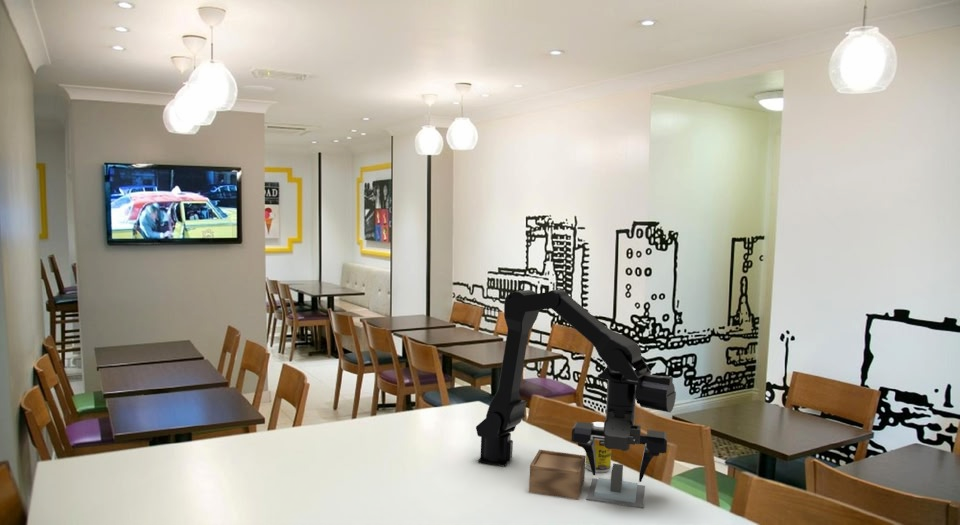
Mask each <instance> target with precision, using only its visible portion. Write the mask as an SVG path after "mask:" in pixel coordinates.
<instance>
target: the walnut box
mask: <svg viewBox="0 0 960 525" xmlns="http://www.w3.org/2000/svg"><path fill="white" fill-rule="evenodd" d="M585 464H586V454H576V453H569V452H560V451H554V450H545V449H538V450H537V453H536V454H535V456H534V458H533V459H532V462H531V463H530V465H529V479H528V480H529V483H528V493H530V492H531V494H536V495H537V494H538V495H545V496H552V497H557V498H564V499H565V498H566V499H573V500H579V499H580V496H581V493H582V490H583V487H584V483H585V475H586V465H585Z"/></svg>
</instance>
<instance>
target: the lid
mask: <svg viewBox="0 0 960 525" xmlns="http://www.w3.org/2000/svg"><path fill="white" fill-rule="evenodd" d="M623 473H624V464H622V463H621V464H620V463H612V467H611V472H610V478H604V477H597V479H598V481H597V485H596V489H595V493H594V497H599V498H605V499H612V500H619V501H626V502H632V503H635V501H636V493H637V485H638V482H632V481H625V480H623V479H624V478H623V477H624V476H623Z"/></svg>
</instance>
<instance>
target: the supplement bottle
mask: <svg viewBox="0 0 960 525" xmlns="http://www.w3.org/2000/svg"><path fill="white" fill-rule="evenodd" d="M592 423H594V429H602V430H604V423H605V421H604V422H603V421H594V422H592ZM595 453H596V473H598V474H599V473H600V474H601V473H607V472H609V471H610V470H611V463H612V462H611V461H612V449H607V448H606V447H605V446H604V439H597V438H595ZM585 456H586V458H585V469H587V470H588V471H591V472H592V470H591V466H590V463H589V459H588V456H587V454H586V453H585Z"/></svg>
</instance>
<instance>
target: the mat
mask: <svg viewBox="0 0 960 525" xmlns="http://www.w3.org/2000/svg"><path fill="white" fill-rule="evenodd" d="M597 481H598V478H592V479H591V481H590V484H589V485H590V486H589V487H588V488H589V489H588V491H587V495H586V498H585V499H586V501H590V502H591V501H592V502H599V503H605V504H611V505H617V506H618V505H619V506H625V507H631V508H638V509H644V503H645V502H644V501H645V492H646V491H645V489H646V485H642V484H637V493H636V501H635V503H632V502H626V501H619V500H612V499H605V498H599V497H594V493H595V489H596V485H597Z"/></svg>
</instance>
